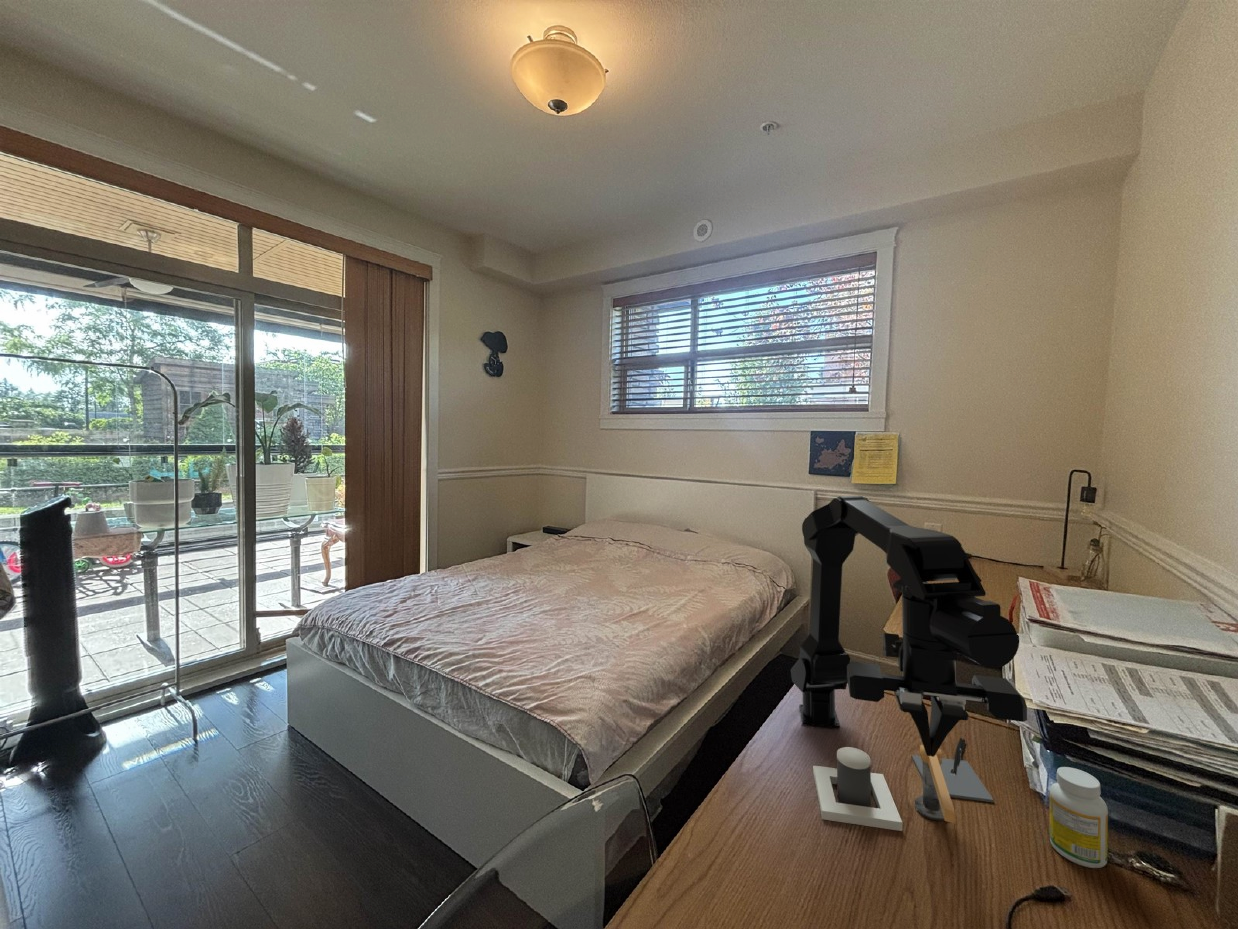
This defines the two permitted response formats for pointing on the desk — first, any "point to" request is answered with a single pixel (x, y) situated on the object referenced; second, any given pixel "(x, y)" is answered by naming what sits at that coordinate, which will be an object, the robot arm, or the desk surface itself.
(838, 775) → the plug
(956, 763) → the black pen
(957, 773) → the mat
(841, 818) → the socket block
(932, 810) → the post
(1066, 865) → the desk surface
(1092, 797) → the supplement bottle
